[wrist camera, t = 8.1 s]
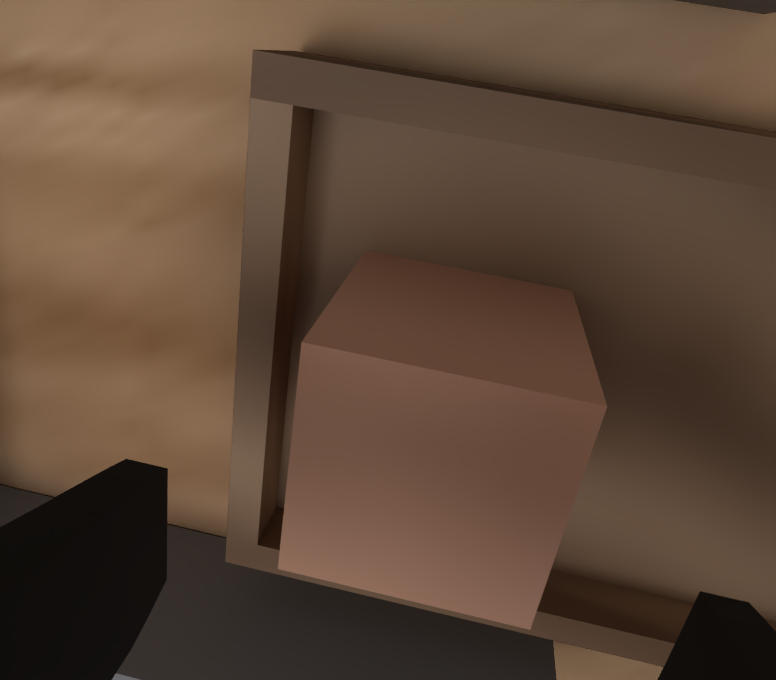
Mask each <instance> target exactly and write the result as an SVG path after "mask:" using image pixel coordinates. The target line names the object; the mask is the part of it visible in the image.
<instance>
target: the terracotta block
mask: <svg viewBox="0 0 776 680" xmlns="http://www.w3.org/2000/svg"><path fill="white" fill-rule="evenodd" d="M606 409H607V404H606V400H605V397H604V394H603V390H602V387H601V384H600V381H599V377H598V374H597V371H596V367H595V364H594V361H593V358H592V354H591V351H590V348H589V344H588V341H587V338H586V335H585V331H584V328H583V325H582V321H581V318H580V315H579V311H578V308H577V305H576V302H575V298H574V295H573V292H572V290H566V289H561V288H556V287H551V286H546V285H541V284H536V283H531V282H526V281H521V280H516V279H510V278H505V277H500V276H495V275H490V274H485V273H480V272H475V271H470V270H465V269H460V268H454V267H449V266H444V265H439V264H434V263H429V262H424V261H419V260H414V259H409V258H403V257H398V256H393V255H388V254H383V253H378V252H373V251H368V250H366V251H365V252H364V254H363V255H362V256H361V258H360V259H359V261H358V262H357V264H356V265H355V266H354V268H353V269H352V271H351V272H350V274H349V275H348V276H347V278H346V279H345V281H344V282H343V284H342V285H341V286H340V288H339V289H338V291H337V292H336V294H335V295H334V296H333V298H332V299H331V301H330V302H329V304H328V305H327V306H326V308H325V309H324V311H323V312H322V314H321V315H320V316H319V318H318V319H317V321H316V322H315V324H314V325H313V326H312V328H311V329H310V331H309V332H308V334H307V335H306V336H305V338H304V339H303V341H302V342H301V352H300V361H299V371H298V380H297V390H296V400H295V409H294V419H293V428H292V438H291V447H290V457H289V466H288V476H287V485H286V495H285V504H284V514H283V524H282V533H281V543H280V552H279V562H278V569H280V570H284V571H288V572H292V573H297V574H301V575H305V576H309V577H313V578H317V579H321V580H326V581H330V582H334V583H338V584H342V585H346V586H350V587H355V588H359V589H363V590H367V591H371V592H375V593H379V594H384V595H388V596H392V597H396V598H400V599H404V600H408V601H413V602H417V603H421V604H425V605H429V606H433V607H437V608H442V609H446V610H450V611H454V612H458V613H462V614H466V615H471V616H475V617H479V618H483V619H487V620H491V621H495V622H500V623H504V624H508V625H512V626H516V627H520V628H524V629H529V630H530V629H531V626H532V623H533V620H534V617H535V615H536V612H537V609H538V606H539V603H540V600H541V597H542V594H543V591H544V588H545V586H546V583H547V580H548V577H549V574H550V571H551V568H552V565H553V562H554V559H555V557H556V554H557V551H558V548H559V545H560V542H561V539H562V536H563V533H564V530H565V528H566V525H567V522H568V519H569V516H570V513H571V510H572V507H573V504H574V502H575V499H576V496H577V493H578V490H579V487H580V484H581V481H582V478H583V475H584V473H585V470H586V467H587V464H588V461H589V458H590V455H591V452H592V449H593V446H594V444H595V441H596V438H597V435H598V432H599V429H600V426H601V423H602V420H603V417H604V415H605V412H606Z"/></svg>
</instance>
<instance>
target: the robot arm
mask: <svg viewBox="0 0 776 680" xmlns="http://www.w3.org/2000/svg"><path fill="white" fill-rule="evenodd" d="M167 477H168V469H167V468H163V467H159V466H154V465H150V464H146V463H141V462H137V461H133V460H128V459H125V460H123V461H121V462H119V463H117V464H115V465H113V466H111V467H109V468H108V469H106V470H104V471H102V472H100V473H98V474H96V475H95V476H93V477H91V478H89V479H87V480H85V481H84V482H82V483H80V484H78V485H76V486H75V487H73V488H71V489H69V490H67V491H66V492H64V493H62V494H60V495H58V496H57V497H55V498H53V499H51V500H49V501H47V502H46V503H44V504H42V505H40V506H38V507H37V508H35V509H33V510H31V511H29V512H27V513H25V514H24V515H22V516H20V517H18V518H16V519H14V520H12V521H11V522H9V523H7V524H5V525H3V526H1V527H0V680H112V679H113V677H114V675H115V674H116V672H117V671H118V669H119V668H120V666H121V665H122V663H123V662H124V660H125V658H126V657H127V655H128V654H129V652H130V651H131V649H132V647H133V645H134V643H135V641H136V640H137V638H138V636H139V634H140V632H141V630H142V628H143V626H144V624H145V622H146V620H147V619H148V617H149V615H150V613H151V611H152V609H153V607H154V605H155V602H156V600H157V598H158V596H159V594H160V592H161V590H162V588H163V586H164V584H165V582H166V580H167ZM658 680H776V631H775V630H774V629H773V628H772V627H771V625H770V624H769V623H768V622H767V621H766V620H765V619H764V618H763V617H762V616H761V615H760V613H759V612H758V611H757V610H756V609H755V608H754V607H753V606H752V605H751V604H750V603H749V602H745V601H741V600H737V599H732V598H728V597H724V596H719V595H715V594H711V593H706V592H702V591H700V592H699V594H698V596H697V598H696V601H695V603H694V605H693V607H692V609H691V611H690V613H689V615H688V617H687V619H686V621H685V624H684V626H683V628H682V630H681V632H680V634H679V636H678V638H677V640H676V642H675V645H674V647H673V649H672V651H671V653H670V655H669V657H668V659H667V661H666V663H665V666H664V668H663V670H662V672H661V674H660V676H659V678H658Z"/></svg>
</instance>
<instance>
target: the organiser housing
mask: <svg viewBox="0 0 776 680" xmlns="http://www.w3.org/2000/svg"><path fill="white" fill-rule="evenodd" d="M677 1H683V2H690V3H696V4H703V5H709V6H716V7H722V8H729V9H735V10H742V11H748V12H755V13H761V14H766V13H772V12H776V0H677ZM51 499H53V497H49V496H44V495H40V494H36V493H32V492H28V491H23V490H19V489H15V488H11V487H6V486H2V485H0V527H1V526H3V525H5V524H7V523H9V522H11V521H12V520H14V519H16V518H18V517H20V516H22V515H24V514H25V513H27V512H29V511H31V510H33V509H35V508H37V507H38V506H40V505H42V504H44V503H46V502H47V501H49V500H51ZM225 557H226V538H222V537H218V536H214V535H209V534H205V533H201V532H197V531H193V530H188V529H184V528H180V527H176V526H171V525H167V580H166V582H165V584H164V586H163V588H162V590H161V592H160V594H159V596H158V598H157V600H156V602H155V605H154V607H153V609H152V611H151V613H150V615H149V617H148V619H147V620H146V622H145V624H144V626H143V628H142V630H141V632H140V634H139V636H138V638H137V640H136V641H135V643H134V645H133V647H132V649H131V651H130V652H129V654H128V655H127V657H126V658H125V660H124V662H123V663H122V665H121V666H120V668H119V669H118V671H117V672H116V674H115V675H114V677H113V679H112V680H556V670H555V659H554V648H553V640H549V639H545V638H541V637H537V636H533V635H528V634H524V633H520V632H516V631H512V630H508V629H503V628H499V627H495V626H491V625H487V624H483V623H478V622H474V621H470V620H466V619H462V618H457V617H453V616H449V615H445V614H441V613H437V612H432V611H428V610H424V609H420V608H416V607H412V606H407V605H403V604H399V603H395V602H391V601H387V600H382V599H378V598H374V597H370V596H366V595H361V594H357V593H353V592H349V591H345V590H341V589H336V588H332V587H328V586H324V585H320V584H316V583H311V582H307V581H303V580H299V579H295V578H291V577H286V576H282V575H278V574H274V573H270V572H265V571H261V570H257V569H253V568H249V567H245V566H240V565H236V564H232V563H228V562H225Z"/></svg>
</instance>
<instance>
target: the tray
mask: <svg viewBox="0 0 776 680" xmlns="http://www.w3.org/2000/svg"><path fill="white" fill-rule="evenodd" d="M366 250H368V251H373V252H378V253H383V254H388V255H393V256H398V257H403V258H409V259H414V260H419V261H424V262H429V263H434V264H439V265H444V266H449V267H454V268H460V269H465V270H470V271H475V272H480V273H485V274H490V275H495V276H500V277H505V278H510V279H516V280H521V281H526V282H531V283H536V284H541V285H546V286H551V287H556V288H561V289H566V290H572V292H573V295H574V298H575V302H576V305H577V308H578V311H579V315H580V318H581V321H582V325H583V328H584V331H585V335H586V338H587V341H588V344H589V348H590V351H591V354H592V358H593V361H594V364H595V367H596V371H597V374H598V377H599V381H600V384H601V387H602V390H603V394H604V397H605V400H606V404H607V409H606V412H605V415H604V417H603V420H602V423H601V426H600V429H599V432H598V435H597V438H596V441H595V444H594V446H593V449H592V452H591V455H590V458H589V461H588V464H587V467H586V470H585V473H584V475H583V478H582V481H581V484H580V487H579V490H578V493H577V496H576V499H575V502H574V504H573V507H572V510H571V513H570V516H569V519H568V522H567V525H566V528H565V530H564V533H563V536H562V539H561V542H560V545H559V548H558V551H557V554H556V557H555V559H554V562H553V565H552V568H551V571H550V574H549V577H548V580H547V583H546V586H545V588H544V591H543V594H542V597H541V600H540V603H539V606H538V609H537V612H536V615H535V617H534V620H533V623H532V626H531V629H530V630H529V629H524V628H520V627H516V626H512V625H508V624H504V623H500V622H495V621H491V620H487V619H483V618H479V617H475V616H471V615H466V614H462V613H458V612H454V611H450V610H446V609H442V608H437V607H433V606H429V605H425V604H421V603H417V602H413V601H408V600H404V599H400V598H396V597H392V596H388V595H384V594H379V593H375V592H371V591H367V590H363V589H359V588H355V587H350V586H346V585H342V584H338V583H334V582H330V581H326V580H321V579H317V578H313V577H309V576H305V575H301V574H297V573H292V572H288V571H284V570H280V569H278V562H279V552H280V543H281V533H282V524H283V514H284V504H285V495H286V485H287V476H288V466H289V457H290V447H291V438H292V428H293V419H294V409H295V400H296V390H297V380H298V371H299V361H300V352H301V342H302V341H303V339H304V338H305V336H306V335H307V334H308V332H309V331H310V329H311V328H312V326H313V325H314V324H315V322H316V321H317V319H318V318H319V316H320V315H321V314H322V312H323V311H324V309H325V308H326V306H327V305H328V304H329V302H330V301H331V299H332V298H333V296H334V295H335V294H336V292H337V291H338V289H339V288H340V286H341V285H342V284H343V282H344V281H345V279H346V278H347V276H348V275H349V274H350V272H351V271H352V269H353V268H354V266H355V265H356V264H357V262H358V261H359V259H360V258H361V256H362V255H363V254H364V252H365V251H366ZM225 562H228V563H232V564H236V565H240V566H245V567H249V568H253V569H257V570H261V571H265V572H270V573H274V574H278V575H282V576H286V577H291V578H295V579H299V580H303V581H307V582H311V583H316V584H320V585H324V586H328V587H332V588H336V589H341V590H345V591H349V592H353V593H357V594H361V595H366V596H370V597H374V598H378V599H382V600H387V601H391V602H395V603H399V604H403V605H407V606H412V607H416V608H420V609H424V610H428V611H432V612H437V613H441V614H445V615H449V616H453V617H457V618H462V619H466V620H470V621H474V622H478V623H483V624H487V625H491V626H495V627H499V628H503V629H508V630H512V631H516V632H520V633H524V634H528V635H533V636H537V637H541V638H545V639H549V640H553V641H558V642H562V643H566V644H570V645H574V646H579V647H583V648H587V649H591V650H595V651H599V652H604V653H608V654H612V655H616V656H620V657H624V658H629V659H633V660H637V661H641V662H645V663H649V664H654V665H658V666H662V667H664V666H665V663H666V661H667V659H668V657H669V655H670V653H671V651H672V649H673V647H674V645H675V642H676V640H677V638H678V636H679V634H680V632H681V630H682V628H683V626H684V624H685V621H686V619H687V617H688V615H689V613H690V611H691V609H692V607H693V605H694V603H695V601H696V598H697V596H698V594H699V592H700V591H702V592H706V593H711V594H715V595H719V596H724V597H728V598H732V599H737V600H741V601H745V602H749V603H750V604H751V605H752V606H753V607H754V608H755V609H756V610H757V611H758V612H759V613H760V615H761V616H762V617H763V618H764V619H765V620H766V621H767V622H768V623H769V624H770V625H771V627H772V628H773V629H774V630H775V631H776V132H773V131H767V130H761V129H755V128H749V127H743V126H737V125H731V124H725V123H719V122H713V121H708V120H702V119H696V118H690V117H684V116H678V115H672V114H666V113H660V112H654V111H648V110H642V109H636V108H630V107H624V106H618V105H612V104H606V103H601V102H595V101H589V100H583V99H577V98H571V97H565V96H559V95H553V94H547V93H541V92H535V91H529V90H523V89H517V88H511V87H505V86H499V85H494V84H488V83H482V82H476V81H470V80H464V79H458V78H452V77H446V76H440V75H434V74H428V73H422V72H416V71H410V70H404V69H398V68H392V67H387V66H381V65H375V64H369V63H363V62H357V61H351V60H345V59H339V58H333V57H327V56H321V55H315V54H309V53H303V52H297V51H277V50H253V59H252V78H251V96H250V115H249V133H248V151H247V170H246V188H245V207H244V225H243V244H242V262H241V280H240V299H239V317H238V336H237V354H236V373H235V391H234V409H233V428H232V446H231V465H230V483H229V502H228V520H227V538H226V557H225Z"/></svg>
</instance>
